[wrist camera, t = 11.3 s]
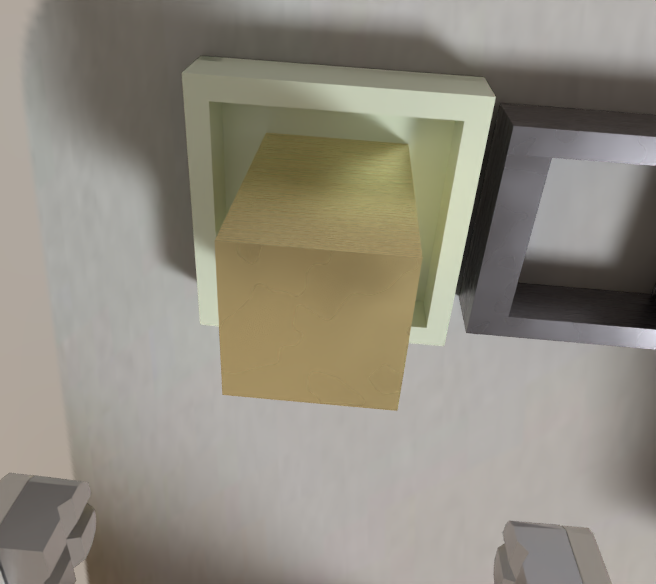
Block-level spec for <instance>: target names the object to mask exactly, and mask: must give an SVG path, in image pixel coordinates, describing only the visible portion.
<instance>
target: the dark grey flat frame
mask: <svg viewBox="0 0 656 584" xmlns="http://www.w3.org/2000/svg"><path fill="white" fill-rule="evenodd" d="M552 158H564V159H576V160H589V161H601V162H614V163H627V164H639V165H652V166H656V115H650V114H637V113H624V112H611V111H598V110H585V109H572V108H559V107H546V106H533V105H520V104H507V103H500V105H499V110H498V115H497V119H496V124H495V129H494V134H493V138H492V143H491V148H490V152H489V157H488V162H487V166H486V171H485V176H484V181H483V185H482V190H481V195H480V199H479V204H478V209H477V214H476V218H475V223H474V228H473V232H472V237H471V242H470V246H469V251H468V256H467V261H466V265H465V270H464V275H463V279H462V284H461V289H460V293H459V300H460V305H461V310H462V315H463V320H464V325H465V330H466V333H473V334H484V335H496V336H507V337H518V338H530V339H541V340H553V341H564V342H576V343H587V344H599V345H610V346H621V347H633V348H644V349H656V284H655V287H654V289H653V291H652V294H641V293H629V292H618V291H606V290H594V289H582V288H570V287H559V286H547V285H535V284H523V283H518V280H519V276H520V272H521V269H522V265H523V261H524V258H525V254H526V250H527V247H528V243H529V239H530V236H531V232H532V228H533V225H534V221H535V217H536V214H537V210H538V206H539V203H540V199H541V195H542V192H543V188H544V185H545V181H546V177H547V174H548V170H549V166H550V163H551V159H552Z"/></svg>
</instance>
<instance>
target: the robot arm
mask: <svg viewBox="0 0 656 584" xmlns="http://www.w3.org/2000/svg"><path fill="white" fill-rule="evenodd" d="M90 495H91V491H90V487H89V483H88V482H84V481H76V480H67V479H59V478H51V477H42V476H34V475H24V474H16V473H9V474H7V475H6V476H5V477H3V478H2V479H1V480H0V584H74V583H75V582H76V578H75V573H74V569H73V568H74V567H76V566H77V565H78V564H80V563H81V562H82V561H84V560H85V559H86V557H87V555H88V553H89V551H90V548H91V546H92V543H93V539H94V535H95V530H96V515H95V509H94V508H93V507H92V506H90V505H89V504H88V503H87V501H88V499H89V497H90ZM503 537H504V542H505V544H503V545H501V546H500V547H498V549H497V552H496V556H495V560H494V584H612V583H611V580H610V577H609V575H608V572H607V569H606V566H605V564H604V561H603V558H602V556H601V553H600V550H599V548H598V545H597V542H596V540H595V537H594V534H593V533H592V531H591V530H590V529H589V528H583V527H572V526H560V525H556V524H544V523H531V522H519V521H508V522H507V523H506V525H505V528H504V530H503Z"/></svg>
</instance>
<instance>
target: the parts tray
mask: <svg viewBox="0 0 656 584" xmlns="http://www.w3.org/2000/svg"><path fill="white" fill-rule="evenodd" d="M182 86H183V99H184V113H185V126H186V140H187V154H188V167H189V181H190V194H191V208H192V221H193V235H194V248H195V262H196V276H197V289H198V303H199V316H200V325H209V326H219V317H218V298H217V279H216V260H215V239H216V237H217V235H218V232H219V230H220V228H221V226H222V224H223V222H224V220H225V218H226V216H227V214H228V211H229V209H230V207H231V205H232V203H233V201H234V199H235V197H236V195H237V193H238V190H239V188H240V186H241V184H242V182H243V180H244V178H245V176H246V174H247V172H248V169H249V167H250V165H251V163H252V161H253V159H254V157H255V155H256V153H257V151H258V148H259V146H260V144H261V142H262V140H263V138H264V136H265V134H266V133H277V134H289V135H302V136H315V137H327V138H340V139H352V140H365V141H378V142H390V143H403V144H408V145H409V153H410V161H411V169H412V177H413V185H414V193H415V201H416V210H417V218H418V226H419V234H420V242H421V250H422V258H423V259H422V265H421V271H420V277H419V283H418V289H417V295H416V301H415V307H414V313H413V319H412V325H411V331H410V337H409V343H414V344H425V345H437V346H444V344H445V339H446V335H447V330H448V325H449V320H450V315H451V311H452V306H453V301H454V296H455V291H456V287H457V282H458V277H459V272H460V267H461V262H462V258H463V253H464V248H465V243H466V238H467V234H468V229H469V224H470V219H471V214H472V210H473V205H474V200H475V195H476V190H477V185H478V181H479V176H480V171H481V166H482V161H483V157H484V152H485V147H486V142H487V137H488V132H489V128H490V123H491V118H492V113H493V108H494V104H495V99H496V96H495V95H494V93H493V91H492V90H491V88H490V86H489V85H488V83H487V81H486V80H485V78H484V77H473V76H460V75H447V74H434V73H421V72H408V71H394V70H381V69H368V68H355V67H342V66H329V65H316V64H302V63H289V62H276V61H263V60H250V59H237V58H224V57H210V56H200V57H199V58H198V59H197V60H195V61H194V62H193V63H192V64H191V65H190V66H189V67H188V68H186V69H185V70H184V71H183V72H182Z"/></svg>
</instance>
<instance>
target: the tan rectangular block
mask: <svg viewBox="0 0 656 584" xmlns="http://www.w3.org/2000/svg"><path fill="white" fill-rule="evenodd" d="M422 259H423V258H422V250H421V242H420V234H419V226H418V218H417V210H416V201H415V193H414V185H413V177H412V169H411V161H410V153H409V145H408V144H403V143H390V142H378V141H365V140H352V139H340V138H327V137H315V136H302V135H289V134H277V133H266V134H265V136H264V138H263V140H262V142H261V144H260V146H259V148H258V151H257V153H256V155H255V157H254V159H253V161H252V163H251V165H250V167H249V169H248V172H247V174H246V176H245V178H244V180H243V182H242V184H241V186H240V188H239V190H238V193H237V195H236V197H235V199H234V201H233V203H232V205H231V207H230V209H229V211H228V214H227V216H226V218H225V220H224V222H223V224H222V226H221V228H220V230H219V232H218V235H217V237H216V239H215V260H216V279H217V298H218V317H219V336H220V355H221V374H222V393H223V395H231V396H242V397H253V398H264V399H275V400H286V401H297V402H308V403H319V404H330V405H341V406H352V407H363V408H374V409H385V410H396V411H397V409H398V403H399V397H400V391H401V385H402V379H403V373H404V367H405V361H406V355H407V349H408V343H409V337H410V331H411V325H412V319H413V313H414V307H415V301H416V295H417V289H418V283H419V277H420V271H421V265H422Z"/></svg>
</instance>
